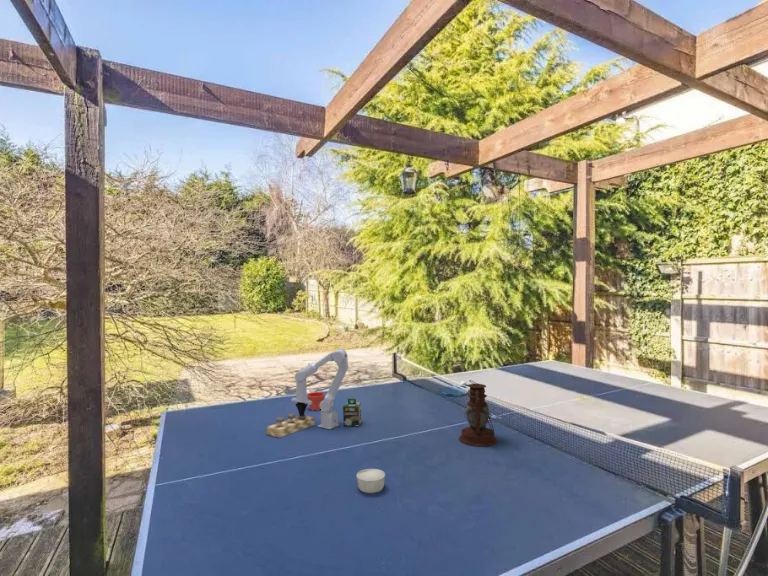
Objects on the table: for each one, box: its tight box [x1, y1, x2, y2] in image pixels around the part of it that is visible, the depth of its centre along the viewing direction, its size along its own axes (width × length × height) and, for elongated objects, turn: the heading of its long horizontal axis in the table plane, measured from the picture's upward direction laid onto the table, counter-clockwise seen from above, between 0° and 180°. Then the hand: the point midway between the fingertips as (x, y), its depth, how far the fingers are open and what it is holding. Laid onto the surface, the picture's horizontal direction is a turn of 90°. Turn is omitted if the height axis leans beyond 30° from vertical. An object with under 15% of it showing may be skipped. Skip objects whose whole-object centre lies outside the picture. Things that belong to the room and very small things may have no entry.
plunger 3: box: [297, 414, 307, 419], centre depth 243 cm, size 4×4×5 cm
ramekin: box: [356, 468, 386, 494], centre depth 165 cm, size 11×11×5 cm
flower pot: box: [307, 391, 326, 411], centre depth 276 cm, size 11×11×10 cm
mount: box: [266, 415, 316, 439], centre depth 236 cm, size 26×10×4 cm, turn 145°
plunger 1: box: [275, 416, 285, 427], centre depth 230 cm, size 4×4×5 cm
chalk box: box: [342, 398, 363, 427], centre depth 244 cm, size 9×9×15 cm
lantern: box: [458, 379, 498, 448], centre depth 215 cm, size 19×19×30 cm
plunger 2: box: [286, 412, 296, 423], centre depth 236 cm, size 4×4×5 cm
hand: (301, 415), depth 243 cm, fingers closed, pressing on plunger 3
